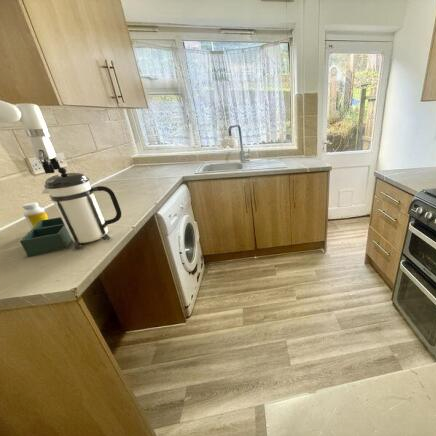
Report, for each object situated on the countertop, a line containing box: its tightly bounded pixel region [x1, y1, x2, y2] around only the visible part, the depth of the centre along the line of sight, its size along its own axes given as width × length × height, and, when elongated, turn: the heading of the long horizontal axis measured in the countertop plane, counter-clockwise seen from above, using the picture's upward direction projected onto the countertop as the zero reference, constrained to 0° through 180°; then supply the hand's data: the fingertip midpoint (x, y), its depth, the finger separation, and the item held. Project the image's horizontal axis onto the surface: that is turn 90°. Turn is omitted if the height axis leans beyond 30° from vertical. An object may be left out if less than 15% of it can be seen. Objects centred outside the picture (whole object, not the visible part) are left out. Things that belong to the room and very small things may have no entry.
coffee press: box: [41, 167, 122, 250], centre depth 95 cm, size 17×16×30 cm
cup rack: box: [19, 216, 72, 257], centre depth 100 cm, size 11×21×6 cm, turn 29°
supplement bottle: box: [22, 201, 50, 230], centre depth 108 cm, size 7×7×13 cm
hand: (53, 171), depth 117 cm, fingers open, 9 cm apart
